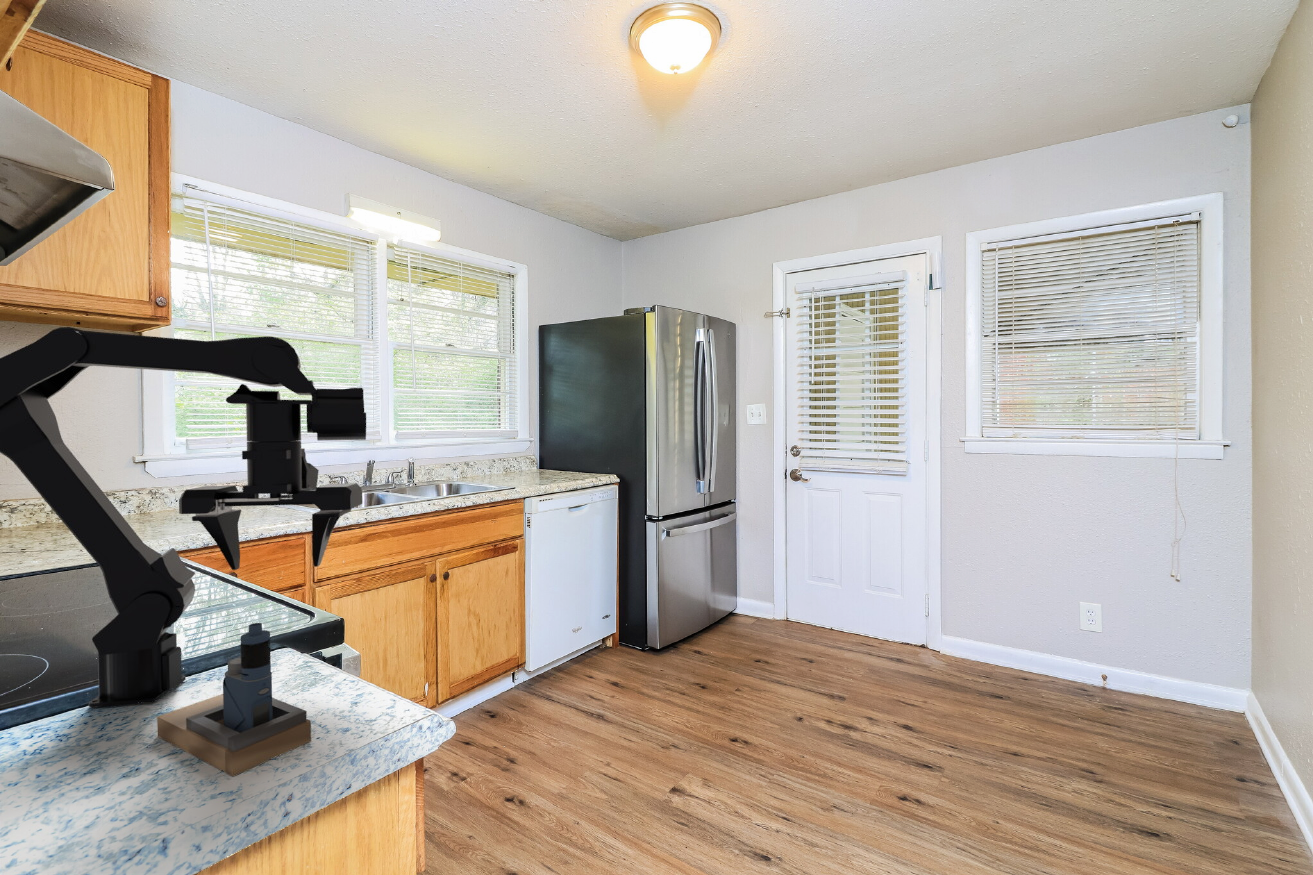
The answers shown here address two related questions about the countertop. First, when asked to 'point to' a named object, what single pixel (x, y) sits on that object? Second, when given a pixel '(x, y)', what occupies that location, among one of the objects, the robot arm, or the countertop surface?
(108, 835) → the countertop surface
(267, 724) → the walnut socket board
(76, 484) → the robot arm
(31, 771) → the countertop surface
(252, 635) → the vaping device
